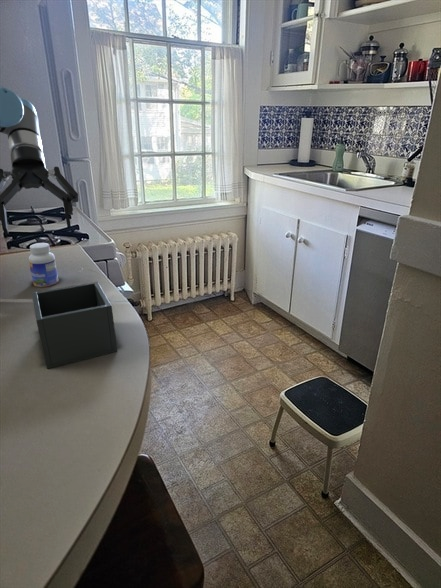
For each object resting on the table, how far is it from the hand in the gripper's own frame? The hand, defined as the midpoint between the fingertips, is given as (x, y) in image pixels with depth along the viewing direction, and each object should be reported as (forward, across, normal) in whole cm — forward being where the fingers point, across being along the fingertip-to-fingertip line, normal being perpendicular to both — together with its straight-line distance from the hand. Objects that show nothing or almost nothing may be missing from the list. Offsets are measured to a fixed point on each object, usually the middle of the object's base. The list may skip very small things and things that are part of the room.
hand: (38, 228), depth 91 cm
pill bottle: (+13, 0, -4) cm, 14 cm away
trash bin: (+34, -5, +17) cm, 38 cm away
